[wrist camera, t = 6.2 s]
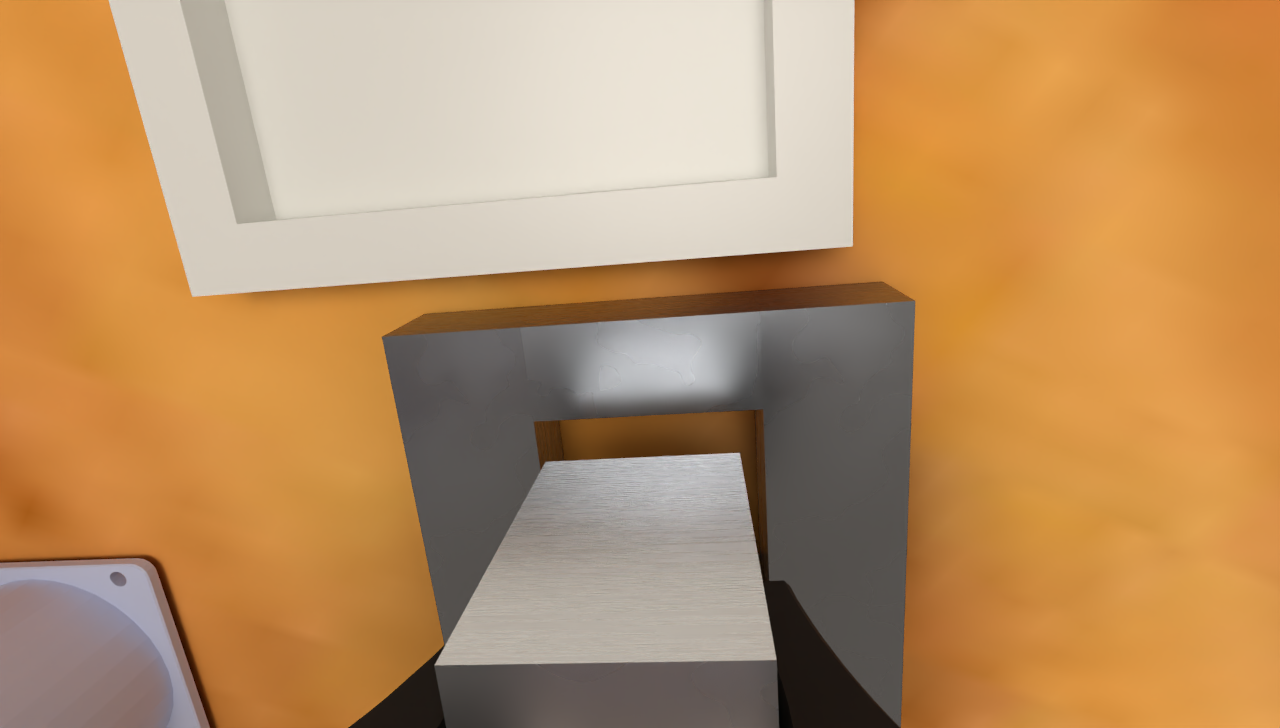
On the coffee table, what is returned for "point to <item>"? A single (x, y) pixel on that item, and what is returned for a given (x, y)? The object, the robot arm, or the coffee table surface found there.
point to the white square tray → (490, 133)
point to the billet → (619, 605)
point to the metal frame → (677, 384)
